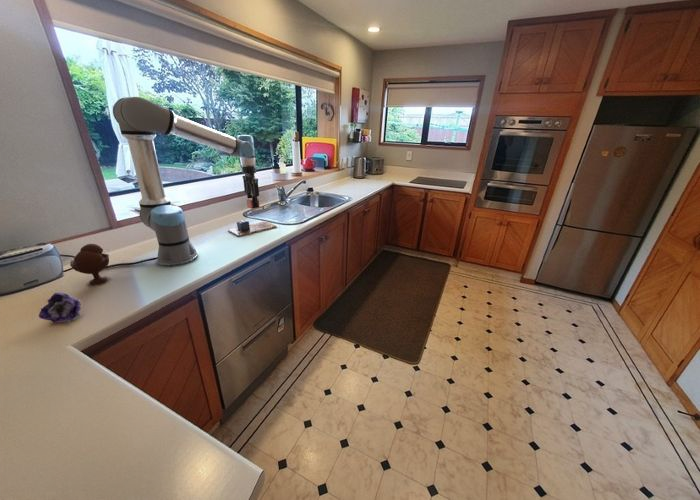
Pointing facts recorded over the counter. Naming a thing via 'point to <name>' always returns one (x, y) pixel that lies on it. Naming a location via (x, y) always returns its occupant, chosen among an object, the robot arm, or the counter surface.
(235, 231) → the word board
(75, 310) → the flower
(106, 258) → the ice cream bowl
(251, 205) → the orange block
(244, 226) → the dark grey cube
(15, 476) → the counter surface
